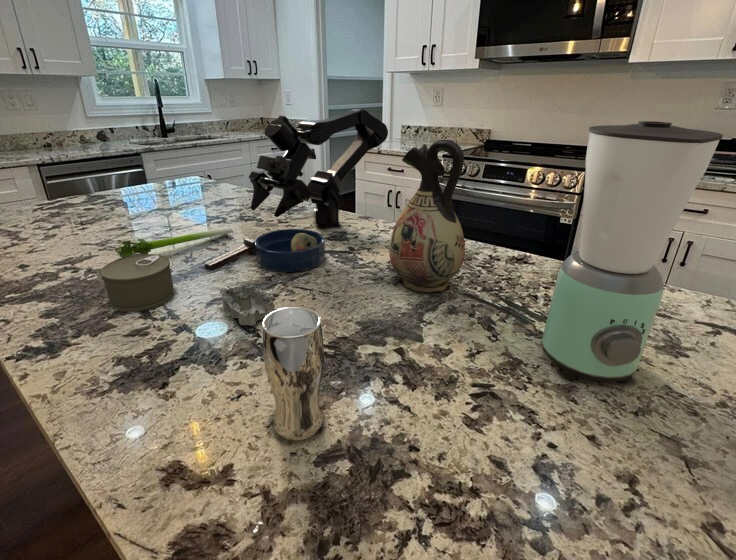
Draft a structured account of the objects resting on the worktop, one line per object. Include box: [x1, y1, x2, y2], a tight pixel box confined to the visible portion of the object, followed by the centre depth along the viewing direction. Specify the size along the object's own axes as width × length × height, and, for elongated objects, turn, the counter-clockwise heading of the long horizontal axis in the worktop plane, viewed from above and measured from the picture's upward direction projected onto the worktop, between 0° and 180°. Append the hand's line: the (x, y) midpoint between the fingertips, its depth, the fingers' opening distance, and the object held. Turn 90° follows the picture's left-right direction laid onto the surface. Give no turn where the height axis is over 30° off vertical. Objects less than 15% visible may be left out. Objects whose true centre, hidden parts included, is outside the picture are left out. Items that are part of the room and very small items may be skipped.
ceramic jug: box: [388, 139, 466, 293], centre depth 82 cm, size 17×15×30 cm
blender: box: [541, 120, 724, 384], centre depth 58 cm, size 19×13×35 cm
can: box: [100, 253, 175, 313], centre depth 81 cm, size 12×12×7 cm
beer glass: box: [261, 306, 325, 441], centre depth 50 cm, size 7×7×15 cm
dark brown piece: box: [203, 237, 256, 271], centre depth 100 cm, size 3×3×13 cm
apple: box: [291, 233, 317, 252], centre depth 97 cm, size 6×8×6 cm
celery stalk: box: [111, 226, 234, 258], centre depth 106 cm, size 6×7×30 cm
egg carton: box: [219, 283, 277, 327], centre depth 77 cm, size 11×8×4 cm
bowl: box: [254, 228, 326, 273], centre depth 100 cm, size 16×16×5 cm
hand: (263, 212), depth 106 cm, fingers open, 9 cm apart
